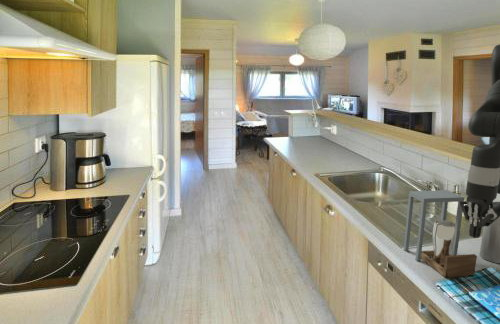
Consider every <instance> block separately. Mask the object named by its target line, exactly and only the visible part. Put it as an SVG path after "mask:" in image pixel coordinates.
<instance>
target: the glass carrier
mask: <svg viewBox="0 0 500 324" xmlns="http://www.w3.org/2000/svg"><path fill="white" fill-rule="evenodd" d="M432 255H433V250H422V253H421V260H423V261H424V262H425V263H427V264H428V265H429V266H430V267H432V268H433V269H434V270H436V272H438V273H439V274H441V276H443V277H444V278H457V277H469V276H468V275H474V276H475V272H476V266H477V258H478V256H477V255H476V254H474V253H473V254H457V255H452V253H451V254H450V256H445V261H444V263H441V264H438V263H436V262H435V261H434V260H432V259H431V258H432Z"/></svg>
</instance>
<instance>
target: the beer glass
mask: <svg viewBox="0 0 500 324" xmlns="http://www.w3.org/2000/svg"><path fill="white" fill-rule="evenodd" d="M455 223H456V222H453V221H449V220H441V219H436V220H435V221H434V224H433V227H432V249H433V255H432V257H430V258H431V259H432V260H434V261H435V262H436V263H438V264H441V263H444V261H445V256H450V254H452V248H453V245H454V242H455V237H456V224H455Z"/></svg>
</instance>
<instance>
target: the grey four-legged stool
mask: <svg viewBox="0 0 500 324" xmlns="http://www.w3.org/2000/svg"><path fill="white" fill-rule="evenodd" d="M465 198H466V197H465V196H462V195H460V194H457V193H455V192H452V191H450V190H448V189H445V190H444V189H439V190H438V189H437V190H436V189H435V190H409V191H408V200H407V201H408V203H407V212H406V222H405V223H406V224H405V233H404V243H403V251H404V252H409V249H410V248H409V247H410V241H411V240H410V237H411V230H412V229H411V228H412V227H411V226H412V218H413V207H414V200H415V199H416V200H418V201H420V202H421V204H420V215H419V224H418V230H417V244H416V251H415V261H416V262H421V261H422V259H421V253H422V251H423V241H424V235H425V234H424V233H425V224H426V215H427V205H428V204H429V203H442V204H441V213H440V220H446V219H447V213H448V204H449V203H454V202H455V203H456V202H457V208H456V218H455V222H454V223H455V224H456V237H455V242H454V245H453V248H452V251H451V254H452V255H458V252H459V251H458V250H459V249H458V248H459V243H460V235H461V226H462V218H463V211H462V208H461V205H460V202H461V201H465ZM446 221H447V220H446Z"/></svg>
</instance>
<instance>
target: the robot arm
mask: <svg viewBox="0 0 500 324" xmlns="http://www.w3.org/2000/svg"><path fill="white" fill-rule="evenodd" d="M490 60H491V61H490V64H491V66H490V67H491V69H490V70H491V71H490V72H491V87H490V88H489V89H488V92H487V95H486V97H485V100H484V102H483V103H482V104H481V105H480V106H479V108H478V109H477V110H475V112H473V114H472V115H471V117H470V118H469V121H468V126H467V127H468V131H469V132H470V134H471V135H473V136H474V137H475V136H476V137H485V138H489V140H488V141H489V143H486V144H477V145H475V146H474V147H473V148H472V151H471V152H472V153H471V161H470V165H469V169H468V174H467V180H466V181H467V182H466V189H465V195H466V200H464V201H461V202H460V205H461V208H462V211H463V213H462V215H463V216H464V219H465V220H466V221H468V223H469V230H468V232H469V234H468V236H470V237H471V238H473V239H477V238H478V239H479V238H480V237H481V243H480V251H479V256H480V257H481V258H482V259H484V260H486V261H487V262H488V261H489V262H492V263H495V264H500V201H495V200H496V198H497V196H498V194H499V195H500V43H499V44H496V45H495V46H494V47H493V49H492V52H491V59H490ZM482 229H483V230H482ZM481 234H482V235H481Z"/></svg>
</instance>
